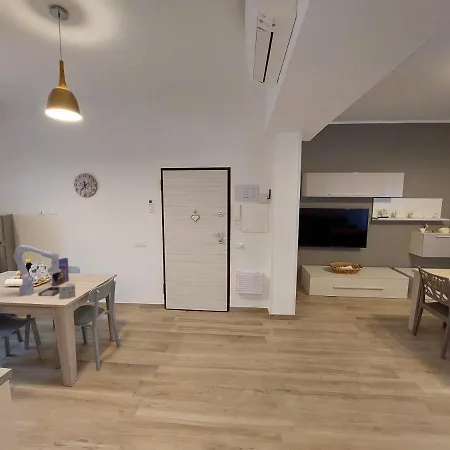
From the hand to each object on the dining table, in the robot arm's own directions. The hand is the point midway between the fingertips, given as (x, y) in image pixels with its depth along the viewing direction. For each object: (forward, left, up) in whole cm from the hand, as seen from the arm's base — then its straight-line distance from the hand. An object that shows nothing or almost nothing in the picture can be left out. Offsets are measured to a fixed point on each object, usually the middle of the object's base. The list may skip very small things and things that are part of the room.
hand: (55, 281), depth 238 cm
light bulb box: (+18, -15, -10) cm, 26 cm away
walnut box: (0, -6, -9) cm, 11 cm away
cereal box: (-10, +23, -10) cm, 27 cm away
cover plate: (0, -9, -9) cm, 13 cm away
